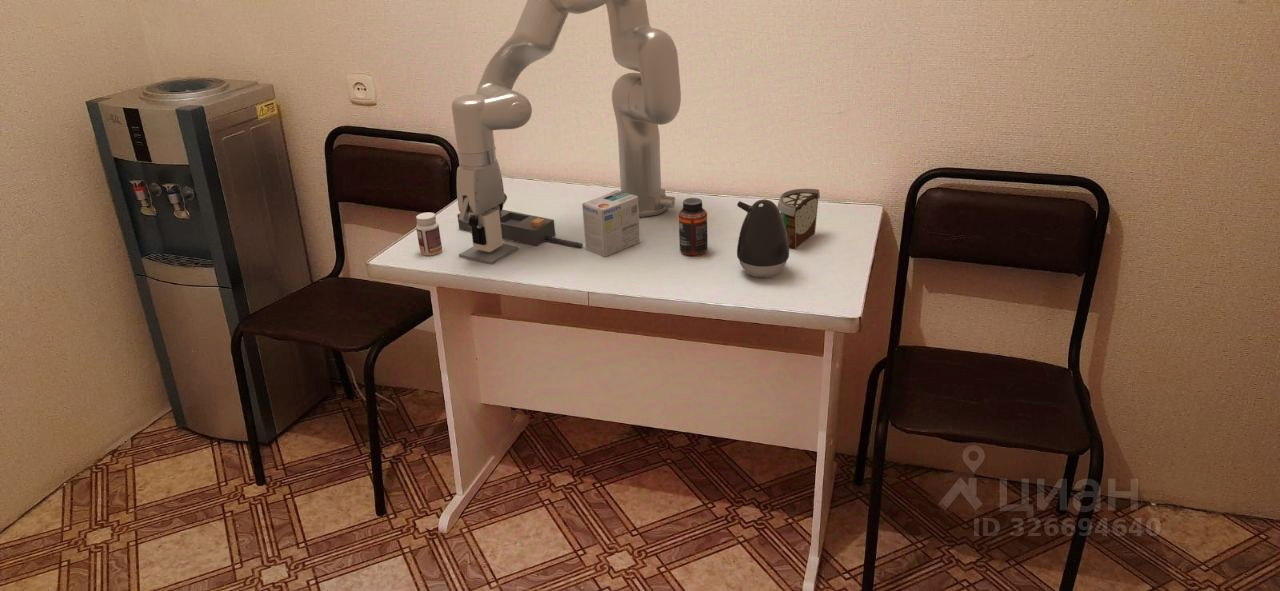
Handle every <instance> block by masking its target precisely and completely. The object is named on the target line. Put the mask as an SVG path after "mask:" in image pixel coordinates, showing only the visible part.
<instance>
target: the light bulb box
mask: <svg viewBox="0 0 1280 591" xmlns="http://www.w3.org/2000/svg"><path fill="white" fill-rule="evenodd" d="M581 204H582V217H583V228H584V229H583V231H584V241H585V242H584V243H585V249H586V250H587V251H588V252H589V251H590V252H592V253H595V254H597V255H599V256H601V257H604V258H606V257H608V256H610V255H612V254H615V253H617V252H620V251H622V250H624V249H627V248H630V247H632V246H633V245H636V244H638V243H639V244H640V243H641V234H640V230H641V229H640V217H639V208H638V196H636V195H632V194H629V193H625V192H622V191H621V190H618V189H617V190H614V191H611V192H609V193H607V194H605V195H601V196H599V197H597V198H594V199H591V200H589V201H586V202H582V203H581Z"/></svg>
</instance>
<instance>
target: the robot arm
mask: <svg viewBox="0 0 1280 591" xmlns="http://www.w3.org/2000/svg"><path fill="white" fill-rule="evenodd" d="M604 5H605V6H606V10H607V11H606V12H607V17H608V23H609V24H608V25H609V33H610V42H611V49H612V55H613V58H614V61H615V62H616V63H617V64H618V65H619V66H621V67H622V68H625V69H628V70H631V71H634V72H628V73H624V74H623V75H620V76H619V77H618V78H617V79H616V80H615V82H614V83H613V87H612V91H611V103H612V108H613V112H614V116H615V120H616V121H615V122H616V129H617V140H618V142H617V143H618V146H617V147H618V158H619V159H618V162H619V180H620V183H619V184H620V191H622V192H625V193H629V194H632V195H636V196H638V208H639V218H640V217H641V218H643V217H644V218H645V217H652V216H656V215H660V214H662V213H664V212H665V211H667V209H674V207H675V203H676V202H675V201H676V198H675V196H671V195H670V196H668V195H667V194H666V189H665V188H662V178H661V177H662V173H661V171H662V170H661V146H660V145H661V141H660V140H661V139H660V129H659V126H660V125H661V126H662V125H667V124H669V123H672V121H673V120H674V119H676V117H677V115H678V113H679V111H680V107H681V101H682V93H681V89H682V88H681V79H680V68H679V56H678V50H677V47H676V44H675V42H674V39H673V38H672V37H671V36H670V34H668V33H667V32H666V31H664V30H662V29H659V28H655V27H651V25H650V19H649V13H648V7H647V5H648V4H647V0H526V3H525V6H524V8H523V10H522V12H521V14H520V17H519V19H518V22H517V24H516V27H515V29H514V31H513V33H512V34H511V36H510V37H509V38H508V39H507V40H506V41H505V42H504V43H502V45H501V47H500V48H499V49H498V50H497V51H496V52H495V53H494V54H493V56H492V57H491V58H490V60H489V62H488V63H487V65H486V67H485V69H484V71H483V74H482V76H481V78H480V81H479V83H478V85H477V86H478V87H477V90H476V92H475V94H465V95H461V96H458V97H456V98H454V99H453V101H452V103H451V112H452V119H453V126H454V135H455V141H456V149H457V157H458V164H459V166H458V167H457V169H456V197H457V206H458V211H459V214H460V216H459V220H461V221H463V222H465V223H467V224H468V225H469V227H471V230H472V232H471V236H472V237H473V239H472V244H473V243H475V244H479V245H486V237H485V229H484V227H482V213H484V212H486V211H488V210H490V209H497V210H499V215H500V218H501V216H502V214H501V211H502V210H504V209H503V208H504V205H505V204H506V201H507V200H508V196H507V194H506V193H505V189H504V182H503V177H502V171H501V168H500V165H499V162H498V159H497V154H496V148H497V147H496V145H495V138H494V131H506V130H515V129H519V128H521V127H523V126H525V125H526V124H528V122H530V119H531V117H532V114H533V108H532V104H531V102H530V100H529V98H527V97H526V96H525V95H524V94H522V93H520V92H519V91H518V92H517V91H515V90H513V88H514V86H515V83H516V82H517V80H518V78H519V76H520V75H521V73H522V72H523V71H524V70H525V69H526V68H527V67H529V66H530V65H531V64H533V63H535V62H537V61H539V60H541V59H543V58H545V57H546V56H547V57H548V56H549V55H550V54H551V53H552V52H553V51H554V49H555V47H556V44H557V41H558V40H559V36H560V34H561V32H562V31H563V30H562V29H563V27H564V25H565V22H566V20H567V19H568V16H569V14H577V15H579V14H580V15H581V14H585V13H588V12H590V11H593V10H595V9H597V8H598V9H599V8H600V7H601V6H604ZM474 216H477V221H476V220H475V219H474Z"/></svg>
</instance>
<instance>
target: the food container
mask: <svg viewBox="0 0 1280 591" xmlns="http://www.w3.org/2000/svg"><path fill="white" fill-rule="evenodd" d="M820 196H821V195H820V189H817V188H797V189H795V188H794V189H790V190H788V191H785V192H783V193H782V194H781V195H780V196H779V199H778V202H777V205H776V206H777V208H778V209H779V211H780V213H781V215H782V218H783V221H784V224H785V227H786V231H787V236H788V243H789V249H792V250H797V249H799V248H800V247H801V246H802V245H804V244H805V243H806V242H808V241H809V240H810V239H811V238H812V237H814V236H816V229H817V228H816V226H817V216H818V206H819V199H820Z"/></svg>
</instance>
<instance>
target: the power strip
mask: <svg viewBox="0 0 1280 591" xmlns="http://www.w3.org/2000/svg"><path fill="white" fill-rule="evenodd" d="M501 214H502V216H501V218H500V224H501V232H502V240H507V241H512V242H515V243H516V242H517V243H521V244H524V245H530V246H535V247H537V246H539V245H540V244H543V243H544V242H545V241H548V242H552V243H556V244H561V245H566V246H570V247H575V248H580V249H582V248H583V246H584V244H583V243H582V242H577V241H572V240H568V239H563V238H557V237H554V236H555V235H556V230H555V229H556V228H555V227H556V226H555V220H554V219H551V218H547V217H541V216H537V215H532V214H526V213H521V212H516V211H512V210H506V209H502V211H501ZM456 216H457V222H458V229H459V230H460V231H465V232H470V233H472V231H471V227H469V225H468V224H467V223H465V222H463V221H461V220H459V216H460V213H458V214H457V215H456Z"/></svg>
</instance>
